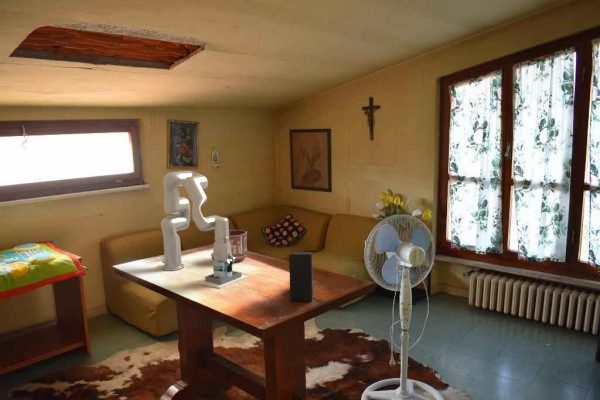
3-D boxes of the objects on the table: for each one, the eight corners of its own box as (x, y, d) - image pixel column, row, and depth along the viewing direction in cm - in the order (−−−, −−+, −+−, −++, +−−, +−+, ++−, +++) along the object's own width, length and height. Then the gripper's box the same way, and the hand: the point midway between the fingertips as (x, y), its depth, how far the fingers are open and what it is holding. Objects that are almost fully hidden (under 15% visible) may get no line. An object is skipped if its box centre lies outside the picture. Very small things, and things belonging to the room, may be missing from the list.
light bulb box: (224, 282, 243) (224, 262, 241) (213, 281, 244) (212, 262, 243) (232, 276, 253) (232, 257, 251) (221, 275, 255) (221, 256, 253)
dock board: (198, 283, 244) (198, 277, 244) (227, 272, 262) (226, 267, 261) (220, 288, 235) (219, 282, 235) (248, 277, 253) (247, 271, 252)
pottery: (218, 257, 294) (217, 230, 291) (245, 255, 299) (244, 228, 297) (222, 265, 278) (221, 237, 275) (250, 262, 283) (249, 234, 280)
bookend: (292, 285, 238) (292, 242, 235) (313, 285, 238) (312, 242, 234) (289, 302, 215) (288, 254, 212) (312, 302, 215) (311, 254, 211)
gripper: (205, 239, 247) (207, 269, 250) (229, 243, 237) (230, 274, 240) (215, 236, 253) (217, 266, 256) (238, 240, 243) (239, 271, 246)
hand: (223, 270), depth 248 cm, fingers open, 9 cm apart
